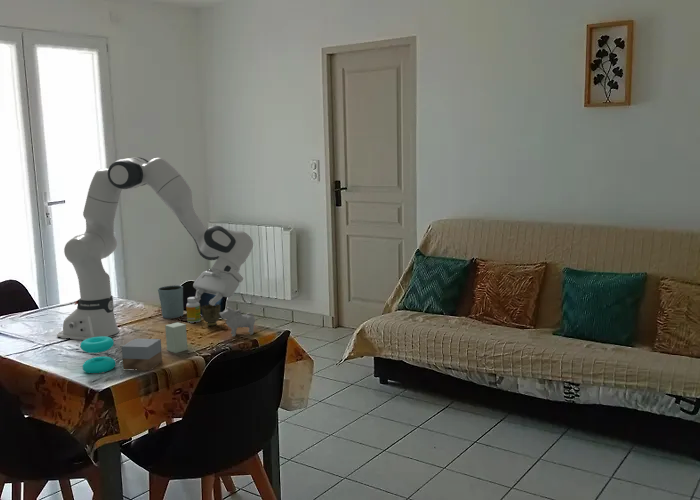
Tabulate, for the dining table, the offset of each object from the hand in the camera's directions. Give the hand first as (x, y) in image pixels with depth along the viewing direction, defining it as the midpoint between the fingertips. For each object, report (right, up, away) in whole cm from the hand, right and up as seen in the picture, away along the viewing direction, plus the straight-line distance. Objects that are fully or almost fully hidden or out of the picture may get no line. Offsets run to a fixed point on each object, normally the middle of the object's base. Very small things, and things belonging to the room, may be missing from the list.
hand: (203, 302), depth 248 cm
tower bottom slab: (-15, -19, -22) cm, 33 cm away
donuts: (-28, -20, -25) cm, 42 cm away
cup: (-2, -11, +25) cm, 27 cm away
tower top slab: (-15, -15, -23) cm, 31 cm away
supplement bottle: (-10, -10, +33) cm, 36 cm away
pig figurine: (+11, -13, +11) cm, 20 cm away
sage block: (-8, -16, -6) cm, 19 cm away
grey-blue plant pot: (-22, -9, +43) cm, 49 cm away
